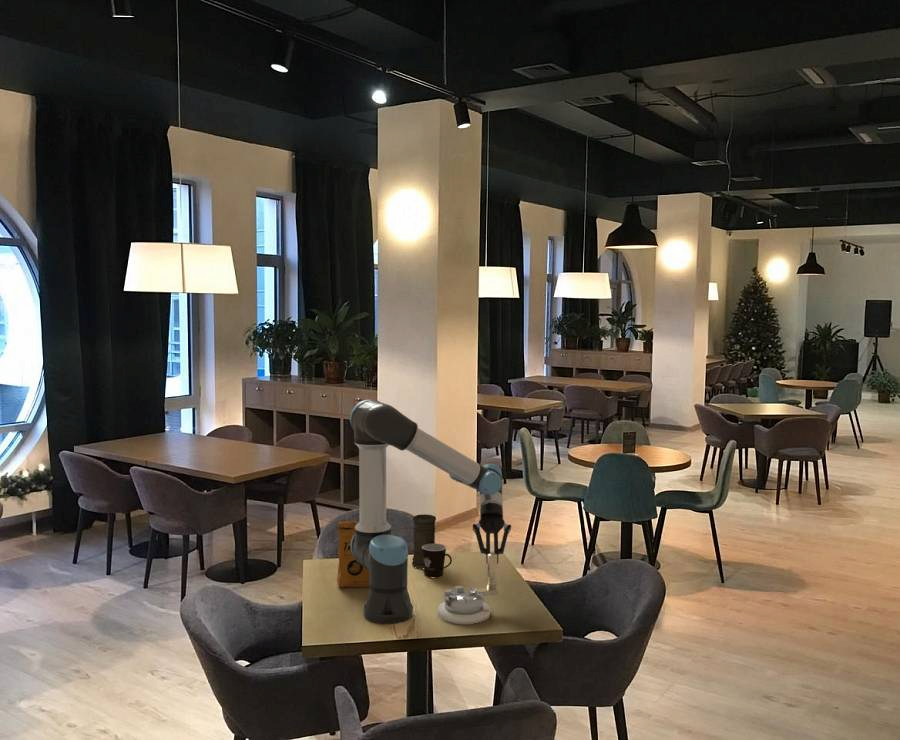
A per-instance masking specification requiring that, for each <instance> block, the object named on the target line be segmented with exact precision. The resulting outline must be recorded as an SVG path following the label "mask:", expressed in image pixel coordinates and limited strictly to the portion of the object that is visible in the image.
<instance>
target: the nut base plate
mask: <svg viewBox="0 0 900 740" xmlns="http://www.w3.org/2000/svg"><path fill="white" fill-rule="evenodd" d="M437 615H438V616H437V617H438V618H440V619H441V620H442V621H445V622H447V623H450V624H455V625H474V623H476V624H478V623H477V622H480V623H482V622H481V621H483V622H485V621H487V620H488V619H489V618H490V617H489V616H491V607H490V605H488V603H486V602H484V605H483V610H482V611H481V612H479V613H475V614H470V615H460V614H454V613H451V612H448V611H447V610H446V609H445V601H443V602H441V603H440V604H438V607H437ZM488 617H489V618H488ZM487 618H488V619H487ZM486 619H487V620H486ZM484 620H485V621H484Z"/></svg>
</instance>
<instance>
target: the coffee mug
mask: <svg viewBox="0 0 900 740" xmlns="http://www.w3.org/2000/svg"><path fill="white" fill-rule="evenodd" d="M446 552H447V545H444V544H441V543H435V544H426V545H423V546H422V554H423V564H424V569H423V571H424V576H425V575H426V576H428V577H427V578H429V577H439V578H441V577H440V576H442V575H443V574H444V569H446V568H448V567H449V566H451V564H452V562H453V559H452V557H451V555H450V554H448V553H446ZM446 557H448V558H449V563H448V564H447V565H445V561H446V560H445V559H446ZM426 576H425V577H426ZM442 577H443V576H442Z"/></svg>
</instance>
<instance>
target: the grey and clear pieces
mask: <svg viewBox="0 0 900 740" xmlns="http://www.w3.org/2000/svg"><path fill="white" fill-rule="evenodd" d="M486 566H487V568H486V569H487V571H486V572H487V573H486V575H487V577H486V587H476V586H473V587H470V589H465V587H464V586H463V585H458V586H454V587H455V589H454V590H452V589H446V590H445V591H444V602H445V609H446V610H447V611H448V612H451V613H454V614H460V615H470V614H475V613H479V612H481V611H482V610H483V605H484V603H485V602H484V600H485V599H484V597H490V596H499V590H498V584H497V583H498V564H497V554H496V553H488V558H487V563H486Z"/></svg>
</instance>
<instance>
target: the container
mask: <svg viewBox="0 0 900 740" xmlns="http://www.w3.org/2000/svg"><path fill="white" fill-rule="evenodd" d="M412 521H413V551H412V552H413V554H412V555H413V557H412V562H411V566H412V567H413V566H414V567H413V568H415V567H416V568H415V569H418V568H424V564H423V554H422V546H423V545H426V544H436V527H435V526H436V525H435V524H436V521H437V518H436V515H432V514H416V515H414V516H413V517H412Z"/></svg>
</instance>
